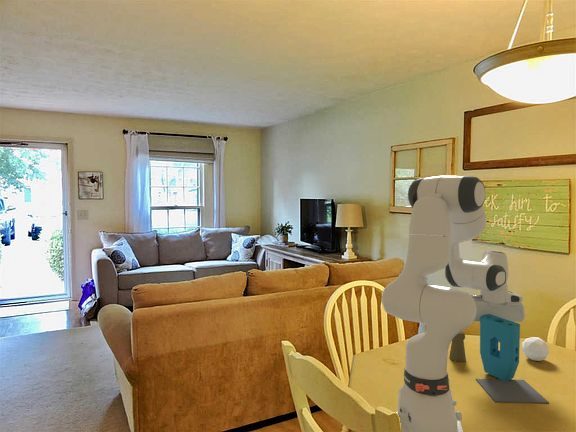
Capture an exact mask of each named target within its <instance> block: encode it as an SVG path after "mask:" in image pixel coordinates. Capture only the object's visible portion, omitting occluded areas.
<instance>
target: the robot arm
mask: <svg viewBox="0 0 576 432" xmlns="http://www.w3.org/2000/svg"><path fill="white" fill-rule="evenodd" d="M484 184H485V183H484V182H483V181H482V180H481V179H480V178H479V177H476V176H473V175H464V176H460V175H437V176H430V177H421V178H416V179H415V180H413V181H412V183H411V184H410V185H409V188H408V191H407V200H408V202H409V205H410V207H411V208H412V210H411V215H410V219H409V221H410V222H409V226H408V227H409V229H408V230H409V231H408V246H407V255H406V261H405V265H404V267H403V269H402V271H401V272H400V274H398V276H397V277H396V278H395V279H394V280H392V281H391V282H389V283H388V284H387V285H386V286H385V288H383V291H382V294H381V304H382V307H383V311H384V312H385V313H386V314H388V315H391V316H393V317H395V318H398V319H399V320H404V321H409V322H413V323H419V324H424V325H425V326H426V329H425V330H426V331H425V332H421V333H418V334H415V335H413V336H411V337H410V338H409V339H408V340H407V342H406V345H405V367H404V369H403V370H404V371H403V381H404V383H403V384H402V386H401V387H400V388H399V389H398V393H397V394H398V396H397V397H398V398H397V411H395V412H396V413H397V414H398V415H399V417H400V423H401V431H400V432H464V430H463V426H462V422H461V421H462V420H463V415H462V411H458V410H456V408H455V406H457V400H456V399H454V398H453V396H452V395H453V394H452V393H453V392H452V390H451V387H450V377H449V373H448V372H447V370H448V369H447V368H448V356H449V355H448V354H449V348H450V346H451V344H452V339H453V338H454V337H455V335H457V334H458V333H459V332H460V331H462V332H463V331H464V330H465V329H467V328H469V327H470V326H471V325H472V324H473V323H474V322H480V317H481V316H483V315H485V314H491V315H494V316H497V317H500V318H503V319H506V320H509V321H512V322H515V323H522V322H524V320H525V318H526V317H525V316H526V315H525V306H524V304H523V303H522V302H523V299H524V298H523V296H521V295H519V294H517V293H515V292H512V291H511V290H510V291H509V286H508V278H509V262H508V256H507V254H506V253H505V252H502V251H496V250H483V252H482V256H481V261H473V260H467V259H464V258H462V257H461V253H460V244H461V243H464V242H468V241H469V242H470V241H471V240H472V241H473V240H474V239H476V238H477V237H479V236H480V235H481V234H482V233H483V232H484V230H485V229H486V226H487V217H486V216H487V215H486V212H485V209H484V203H485V201H486V188H485V185H484ZM443 269H444V270H445V271H444V276H445V280H446V281H447V282H448V284H450V285H451V286H452V287H451V286H450V287H449V286H443V285H435V284H429V283H428V278H429V276H430V275H431V274H434V273H437V272H440V271H441V270H443ZM458 288H466V289H470V290H471V289H472V290H479V291H480V293H479V294H475V295H473V294H470V292H467V291H465V290H464V291H463V290H461V289H458Z"/></svg>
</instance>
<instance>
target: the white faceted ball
mask: <svg viewBox="0 0 576 432" xmlns="http://www.w3.org/2000/svg"><path fill="white" fill-rule="evenodd" d="M521 346H522V349H521V350H522V352H523V354H524V355H525V356H526V357H527V358H528V359H529V360H531V361H538V362H540V361H543V360H544V361H545V360H546V359H547V357H548V356H549V355H550V347H549V344H547V342H546V341H545V340H544V339H541V338H540V337H539V336H537V337H535V336H531V337H528V338H525V339H524V341H522V342H521Z"/></svg>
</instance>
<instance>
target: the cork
mask: <svg viewBox="0 0 576 432" xmlns="http://www.w3.org/2000/svg"><path fill="white" fill-rule="evenodd" d="M465 339H466V334H465V332H464V331H463V330H462V331H460V332H459V333H458V334H457V335H455V337H454V338H453V339H452V341H451V343H450V351H449V358H448V359H449V360H451V361H453V362H456V363H464V362H467V358H466V349H465V348H466V347H465Z"/></svg>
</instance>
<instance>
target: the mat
mask: <svg viewBox="0 0 576 432" xmlns="http://www.w3.org/2000/svg"><path fill="white" fill-rule="evenodd" d="M475 381H476V382H477V383H478V384H479V385H480V387H481V388H482V389H483V390H484V392H485V393H486V394H487V395H488V396H489V397H490V398H491V400H492V401H493V402H495V403H513V404H517V403H519V404H550V402H549V400H547V399H546V398H545V397H544V396H543V395H541V393H539V392H538V391H537V390H536V389H535V388H534V387H532V385H530V383H528V382H527V381H526V380H525V379H511V380H509V381H503V380H501V379H499V378H475Z"/></svg>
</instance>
